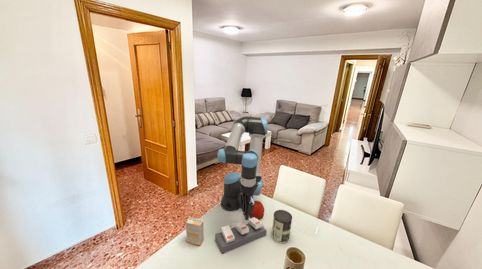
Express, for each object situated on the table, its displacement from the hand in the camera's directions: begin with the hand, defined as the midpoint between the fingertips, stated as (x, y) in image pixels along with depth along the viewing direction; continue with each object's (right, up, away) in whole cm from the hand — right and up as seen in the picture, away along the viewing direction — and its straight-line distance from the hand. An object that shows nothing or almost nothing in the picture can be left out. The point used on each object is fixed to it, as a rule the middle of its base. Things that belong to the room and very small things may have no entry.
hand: (245, 223), depth 103 cm
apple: (+8, -7, +25) cm, 27 cm away
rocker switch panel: (-2, -11, +6) cm, 13 cm away
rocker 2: (-2, -6, +5) cm, 8 cm away
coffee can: (+21, -12, +9) cm, 25 cm away
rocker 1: (-10, -7, 0) cm, 12 cm away
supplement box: (-27, -11, +2) cm, 30 cm away
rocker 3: (+6, -5, +9) cm, 12 cm away
